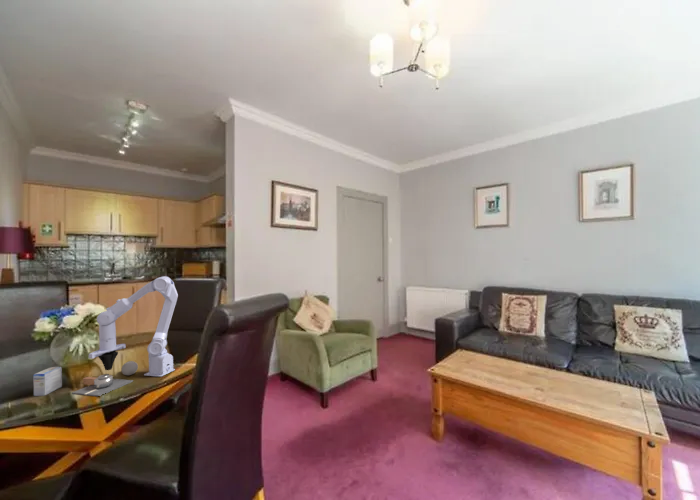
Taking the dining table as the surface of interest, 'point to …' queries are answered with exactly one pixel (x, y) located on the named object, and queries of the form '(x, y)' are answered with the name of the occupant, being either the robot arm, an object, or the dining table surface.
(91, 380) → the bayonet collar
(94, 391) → the lock base
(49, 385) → the medicine box
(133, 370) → the lightbulb
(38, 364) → the dining table surface
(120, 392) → the dining table surface
